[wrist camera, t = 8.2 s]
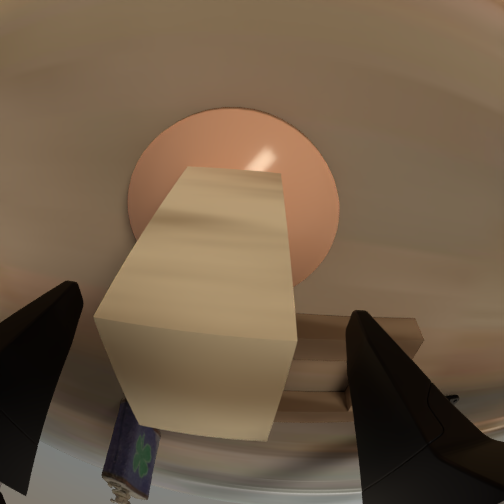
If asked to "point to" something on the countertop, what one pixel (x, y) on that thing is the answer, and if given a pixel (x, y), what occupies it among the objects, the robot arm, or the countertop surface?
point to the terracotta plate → (245, 158)
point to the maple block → (206, 308)
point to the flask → (130, 457)
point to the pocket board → (334, 349)
